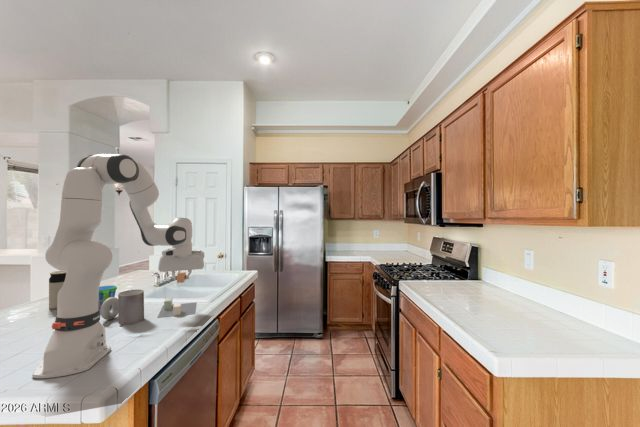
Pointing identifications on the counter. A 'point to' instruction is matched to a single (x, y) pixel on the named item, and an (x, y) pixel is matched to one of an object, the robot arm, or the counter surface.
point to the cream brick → (177, 309)
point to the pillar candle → (130, 307)
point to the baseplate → (185, 310)
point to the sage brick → (168, 303)
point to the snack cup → (106, 294)
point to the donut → (106, 306)
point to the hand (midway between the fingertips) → (181, 279)
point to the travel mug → (55, 287)
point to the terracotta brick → (181, 277)
